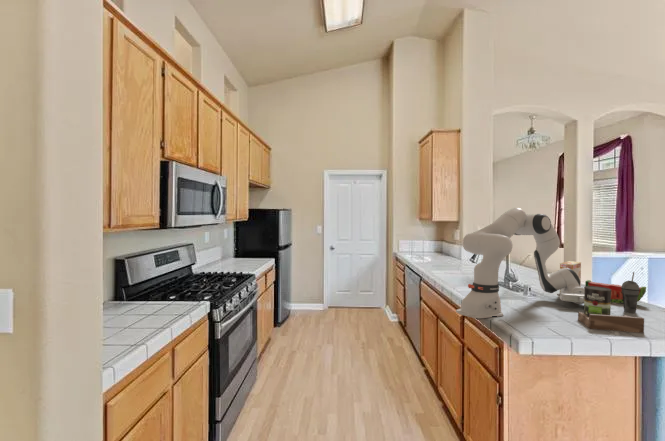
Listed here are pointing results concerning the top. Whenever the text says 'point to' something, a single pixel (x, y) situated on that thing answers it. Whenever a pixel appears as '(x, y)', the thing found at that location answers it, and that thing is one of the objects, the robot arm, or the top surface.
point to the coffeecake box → (574, 266)
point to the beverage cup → (630, 295)
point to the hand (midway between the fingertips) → (588, 301)
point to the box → (612, 322)
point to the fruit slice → (615, 291)
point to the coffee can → (597, 300)
